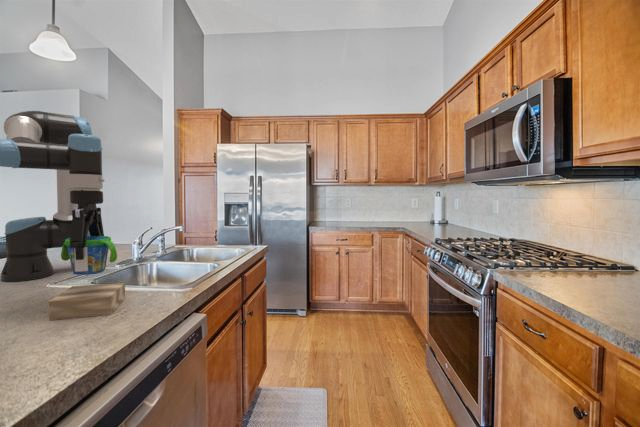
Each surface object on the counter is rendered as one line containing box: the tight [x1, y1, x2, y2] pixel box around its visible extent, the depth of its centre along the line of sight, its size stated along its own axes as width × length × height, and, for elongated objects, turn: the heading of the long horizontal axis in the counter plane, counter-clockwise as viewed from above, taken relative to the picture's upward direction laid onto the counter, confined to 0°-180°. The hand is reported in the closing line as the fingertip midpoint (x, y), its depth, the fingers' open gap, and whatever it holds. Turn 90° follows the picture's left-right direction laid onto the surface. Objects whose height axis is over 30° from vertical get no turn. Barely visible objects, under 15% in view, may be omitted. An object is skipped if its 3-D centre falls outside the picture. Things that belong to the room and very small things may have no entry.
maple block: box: [48, 282, 126, 321], centre depth 90 cm, size 14×14×5 cm
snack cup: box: [60, 235, 118, 276], centre depth 89 cm, size 16×10×10 cm
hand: (89, 266), depth 89 cm, fingers closed on snack cup, 10 cm apart
